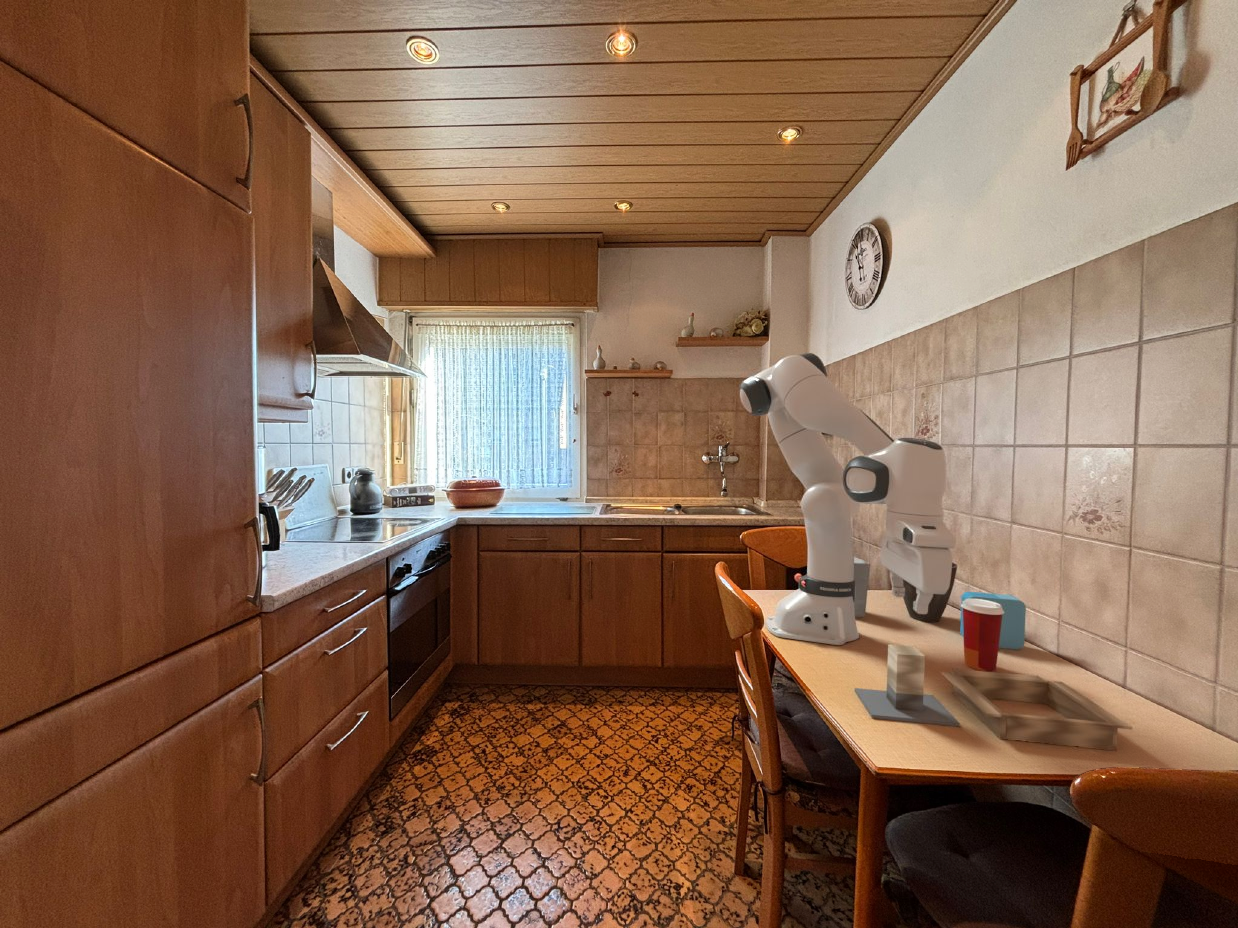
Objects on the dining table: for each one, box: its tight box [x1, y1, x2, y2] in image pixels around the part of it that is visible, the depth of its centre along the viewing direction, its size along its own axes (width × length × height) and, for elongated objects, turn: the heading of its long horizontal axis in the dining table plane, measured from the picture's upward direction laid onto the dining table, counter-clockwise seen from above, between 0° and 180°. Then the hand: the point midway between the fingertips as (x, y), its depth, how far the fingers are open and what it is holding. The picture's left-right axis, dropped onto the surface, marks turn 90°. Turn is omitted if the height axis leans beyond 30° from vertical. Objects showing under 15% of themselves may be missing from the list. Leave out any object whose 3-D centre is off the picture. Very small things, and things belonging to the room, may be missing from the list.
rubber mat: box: [854, 687, 961, 727], centre depth 91 cm, size 14×10×1 cm
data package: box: [959, 591, 1027, 651], centre depth 123 cm, size 12×4×12 cm, turn 72°
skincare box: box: [854, 556, 871, 618], centre depth 146 cm, size 8×7×16 cm
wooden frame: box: [941, 668, 1133, 752], centre depth 89 cm, size 21×18×4 cm
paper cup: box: [960, 599, 1004, 672], centre depth 110 cm, size 8×8×14 cm
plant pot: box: [902, 562, 958, 623], centre depth 142 cm, size 15×15×16 cm
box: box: [886, 644, 926, 712], centre depth 91 cm, size 4×4×10 cm
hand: (908, 603), depth 91 cm, fingers open, 8 cm apart
